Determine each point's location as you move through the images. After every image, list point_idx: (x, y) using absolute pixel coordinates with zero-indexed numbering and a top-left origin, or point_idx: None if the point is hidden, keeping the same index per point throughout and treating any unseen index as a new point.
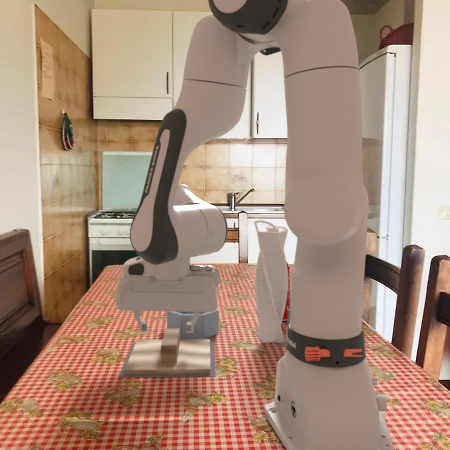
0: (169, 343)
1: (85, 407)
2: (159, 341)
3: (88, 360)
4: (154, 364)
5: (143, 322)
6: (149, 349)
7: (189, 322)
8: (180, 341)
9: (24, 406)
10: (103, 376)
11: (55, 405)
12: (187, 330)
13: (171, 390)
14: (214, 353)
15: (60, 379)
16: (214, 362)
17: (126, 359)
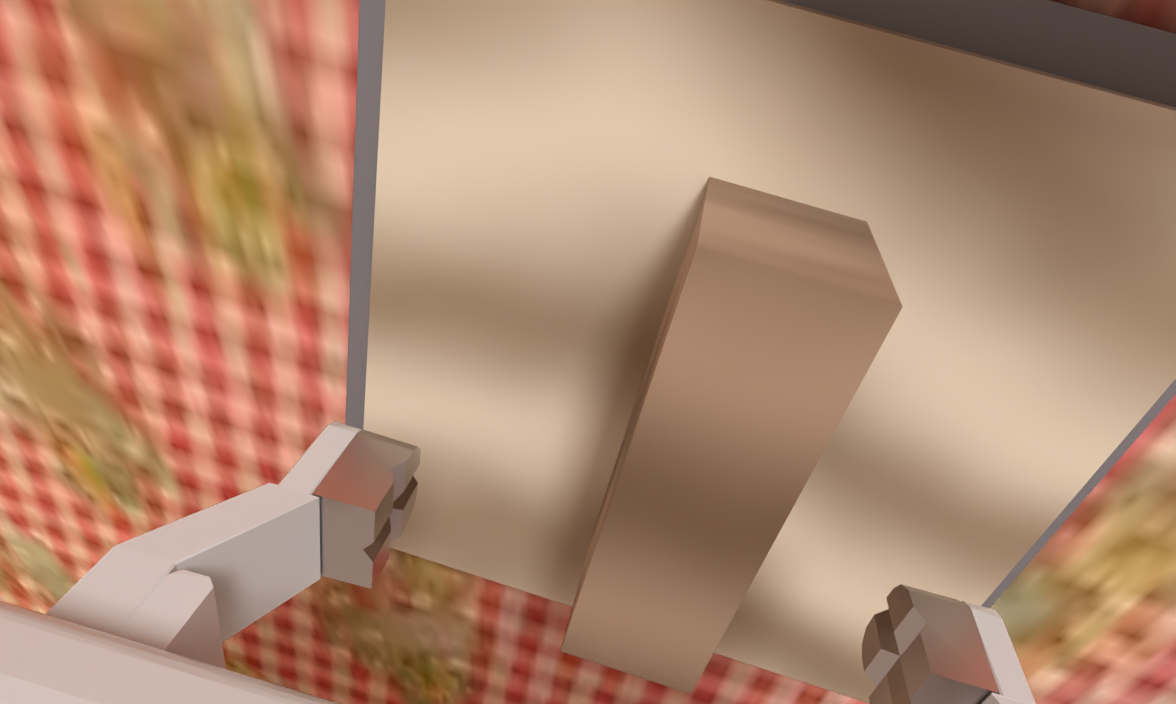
0: (640, 644)
1: (263, 661)
2: (656, 61)
3: (76, 171)
4: (543, 537)
5: (325, 536)
6: (525, 267)
7: (955, 701)
8: (912, 136)
9: (33, 576)
10: (259, 448)
11: None
12: (874, 669)
13: (619, 688)
14: (1144, 423)
15: (43, 404)
16: (1018, 567)
17: (353, 301)
